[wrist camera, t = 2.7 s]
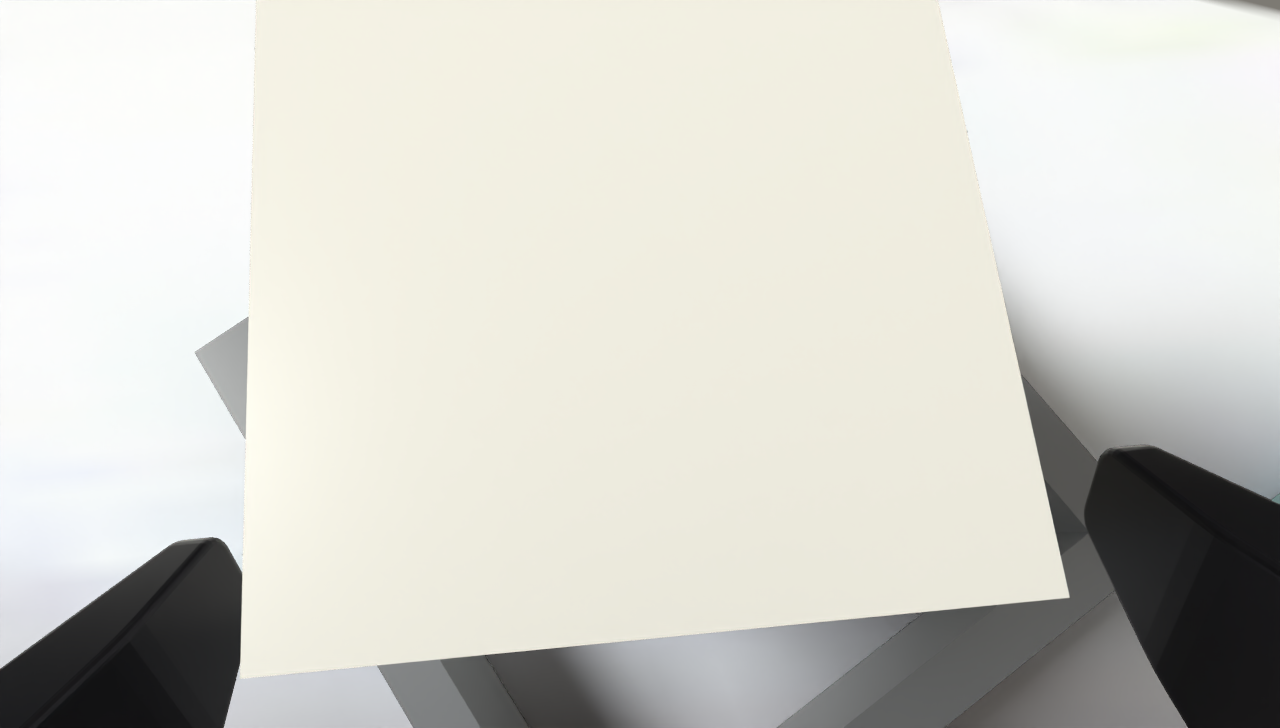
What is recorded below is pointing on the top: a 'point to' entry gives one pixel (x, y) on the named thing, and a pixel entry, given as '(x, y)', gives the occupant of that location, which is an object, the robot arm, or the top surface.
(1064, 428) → the gray square frame
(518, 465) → the block
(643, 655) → the top surface
